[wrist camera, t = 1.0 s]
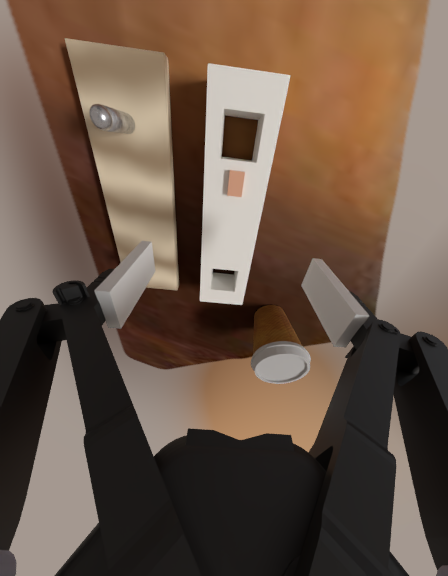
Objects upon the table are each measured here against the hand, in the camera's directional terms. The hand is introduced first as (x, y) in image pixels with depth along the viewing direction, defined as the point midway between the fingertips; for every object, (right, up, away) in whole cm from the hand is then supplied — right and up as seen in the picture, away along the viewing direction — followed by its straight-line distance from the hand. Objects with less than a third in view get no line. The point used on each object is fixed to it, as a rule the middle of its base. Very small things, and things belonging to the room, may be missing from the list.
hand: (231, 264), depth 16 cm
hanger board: (-12, +10, +11) cm, 19 cm away
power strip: (0, +9, +12) cm, 15 cm away
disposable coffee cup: (+9, -8, +24) cm, 27 cm away
